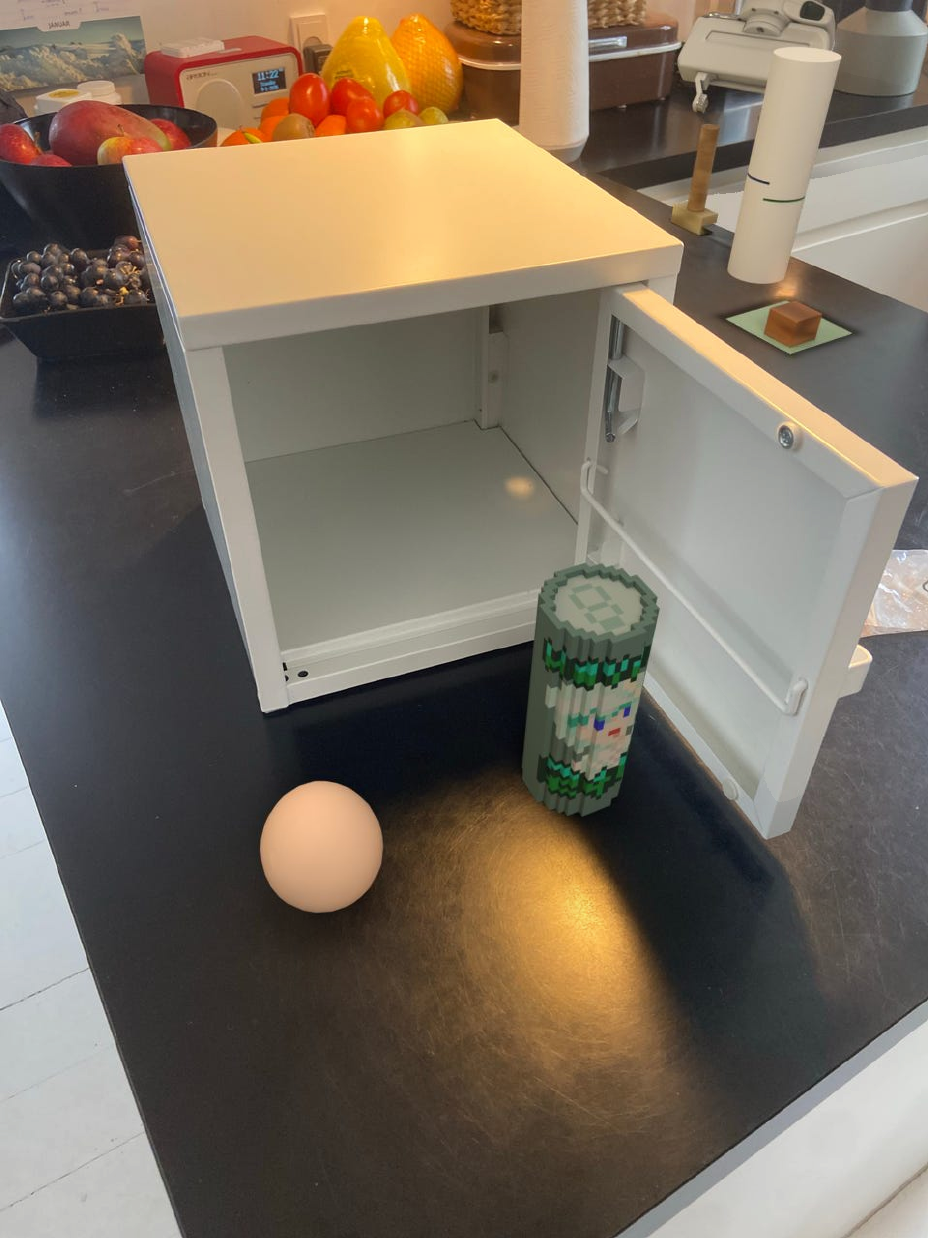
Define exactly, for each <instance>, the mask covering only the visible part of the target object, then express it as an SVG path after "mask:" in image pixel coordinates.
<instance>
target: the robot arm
mask: <svg viewBox="0 0 928 1238" xmlns="http://www.w3.org/2000/svg"><path fill="white" fill-rule="evenodd" d="M835 39H836V19H835V13H834V10H833V9H832V8H830V7H829V6H827V5H825V4H822V3H820V2H818V1H817V0H744V3H743V5H742V7H741V9H740V12H739V14H736V13H722V12H719V11H710V12H709V13H708V14H705V15H701V16H699V17H698V18H697V19H696V20H695V21H694V24H693V26H692V29H691V32H690V35H689V36H688V38H687V39H686V41H685V43H684V45H683V46H682V48H681V50H680V52H679V54H678V57H677V61H676V62H677V68H678V71H679V75H680V77H681V79H682V80H683V81H685V82H691V83H694V84H695V90H696V91H695V92H696V95H695V97H694V100H693V102H692V111H693V112H695V113H700V114H705V113H706V108H708V106H709V99H708V94H706V93H703V91H707V90H708V87H709V85H710V86H715V87H716V86H717V87H721V88H728V89H733V90H740V91H745V92H751V93H757V94H764V95H765V90H766V85H767V81H768V76H769V71H770V67H771V62H772V57H773V53H774V51H775V50H776V49H779V48H786V47H807V48H817V49H823V50H828V51H832V50H833V48H834V45H835V41H836V40H835ZM761 109H762V107H761V108H760V111H759V112H758V115H757V120H758V123H759V118H760V113H761ZM758 123H757V124H758Z"/></svg>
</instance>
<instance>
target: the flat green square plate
mask: <svg viewBox="0 0 928 1238" xmlns="http://www.w3.org/2000/svg"><path fill="white" fill-rule="evenodd" d="M789 302H790V301H788V300H784V301H780V302H777V303H773V304H770V305H767V306H764V307H760V308H757V309H754V310H750V311H746V312H744V313H740V314H737V315H734V316H730V317H727V318H725V320H727V321H728V322H730V323H732V324H734V325H736V326H737V327H739V328H741V329H743V330H745V331H746V332H748V333H749V334H751V335H754V336H756V337H758V338H760V339H761V340H763V341H765V342H767V343H768V344H770V345H772V346H774V347H776V348H778V349H780V350H781V351H783V352H784V353H785V352H786V353H787V354H789V355H793V354H795V353H798V352H801V351H804V350H807V349H810V348H813V347H816V346H819V345H821V344H825V343H829V342H831V341H834V340H838V339H840V338H844V337H846V336H849V335H851V334H853V333H852V332H851V331H849V330H847V329H845V328H842V327H841V326H839V325H837V324H835V323H833V322H831V321H829V320H827V319H824V318H823V317H821V321H820V324H819V327H818V331H817V334H816V337H815V340H812V341H809V342H805V343H802V344H799V345H796V346H793V347H788V346H786V345H784V344H782V343H780V342H778V341H777V340H775V339H773V338H771V337H769V336H767V335H765V334H764V330H765V326H766V322H767V318H768V314H769V310H770V308H772V307H776V306H779V305H782V304H786V303H789Z"/></svg>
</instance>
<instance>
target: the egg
mask: <svg viewBox="0 0 928 1238" xmlns="http://www.w3.org/2000/svg"><path fill="white" fill-rule="evenodd" d="M262 827H263V828H262V832H261V836H260V842H259V843H260V845H259V852H260V862H261V865H262V870H263V874H264V876H265V878H266V880H267V882H268V884H269V886H270V888H271V889H272V890H273V891H274V892H275V894H276V895H277V896H278V897H279V898H280V899H281V900H283V901H284V902H285V903H286V904H287V905H290V906H292V907H294V908H296V909H299V910H300V911H304V912H308V913H313V914H314V913H315V914H318V913H332V912H335V911H338V910H341V909H344V908H347V907H348V906H350V905H352V904H353V903H355V902H356V901H357V900H359V899H360V898H362V896H363V895H364V894H365V893H366V892H368V890H369V889H370V888H371V887H372V885H373V884H374V882H375V880H376V878H377V875H378V873H379V870H380V869H381V866H382V860H383V851H384V843H383V841H384V840H383V834H382V829H381V826H380V822H379V820H378V818H377V817H376V815H375V813H374V811H373V809H372V807H371V805H370V804H369V803H368V802H367V801H366V800H365V799H364V798H363V797H361V795H359V794H358V793H356V792H355V791H354V790H352V789H351V788H349V787H347V786H345V785H343V784H340V783H337V782H331V781H327V780H315V781H314V780H313V781H311V782H307V783H304V784H301V785H298V786H296V787H295V788H294V789H292V790H290V791H289V792H287V793H286V794H285V795H283V796H282V797H281V798H280V800H279V801H278V802H277V803H276V804H275V805H274V807H273V809H272V810H271V812H270V813H269V814H268V816H267V818H266V820H265V822H264V825H263V826H262Z"/></svg>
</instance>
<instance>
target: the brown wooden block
mask: <svg viewBox="0 0 928 1238" xmlns="http://www.w3.org/2000/svg"><path fill="white" fill-rule="evenodd" d="M788 302H789V303H786V304H782V305H779V306H776V307H772V308H770V310H769V314H768V318H767V322H766V326H765V330H764V334H765V335H767V336H769V337H771V338H773V339H775V340H777V341H778V342H780V343H782V344H784V345H786V346H788V347H793V346H796V345H799V344H802V343H805V342H809V341H812V340H815V337H816V334H817V331H818V327H819V324H820V321H821V318H823V313H822V312H819V311H817V310H815V309H813V308H811V307H810V306H808V305H805V304H803V303H801V302H799V301H797V300H793V301H788Z"/></svg>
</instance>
